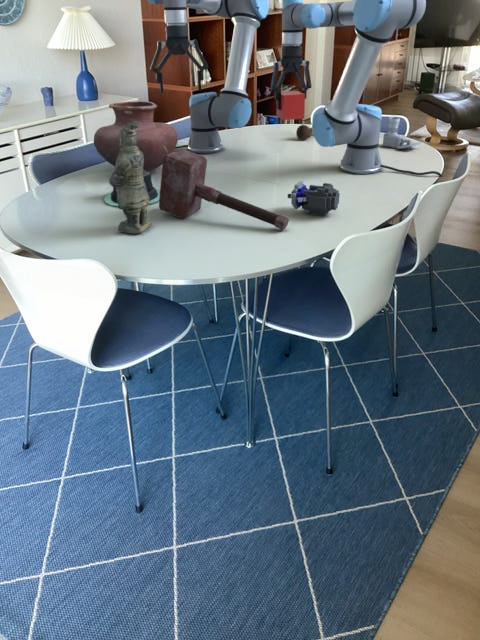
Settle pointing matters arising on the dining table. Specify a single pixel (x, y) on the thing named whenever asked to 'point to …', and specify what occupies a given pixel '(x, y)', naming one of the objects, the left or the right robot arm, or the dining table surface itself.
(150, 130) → the clay pot
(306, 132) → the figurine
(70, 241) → the dining table surface
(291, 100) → the block
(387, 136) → the grey boot
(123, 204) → the statue
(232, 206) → the sledgehammer
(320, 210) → the toy
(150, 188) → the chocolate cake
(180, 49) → the left robot arm
